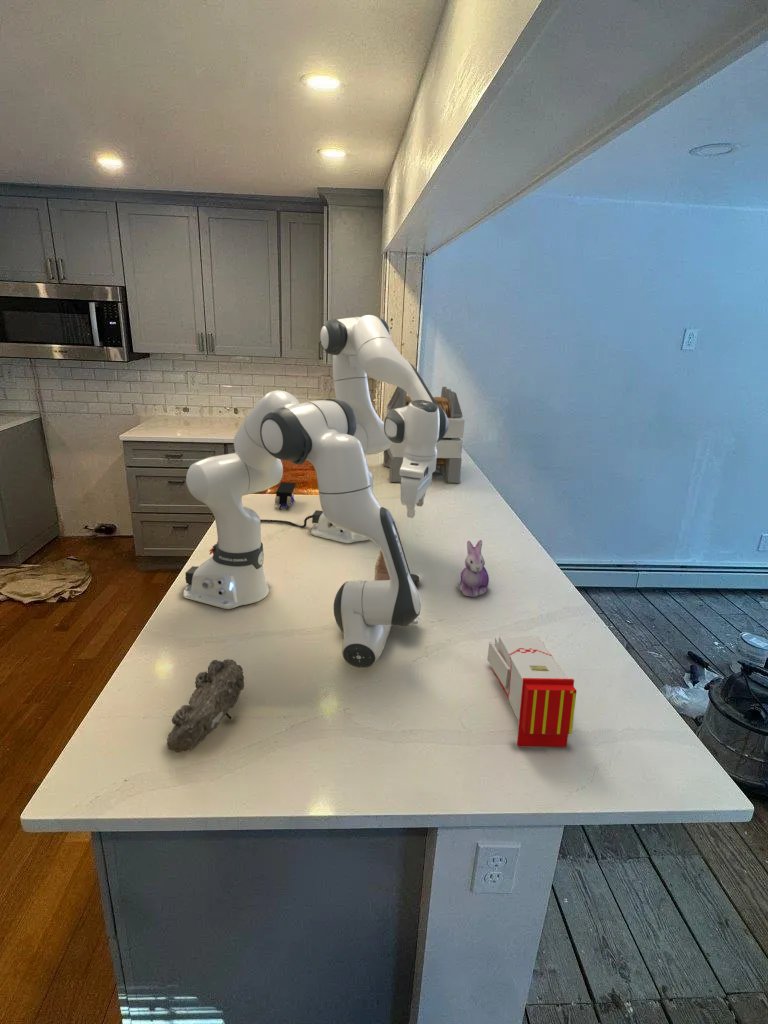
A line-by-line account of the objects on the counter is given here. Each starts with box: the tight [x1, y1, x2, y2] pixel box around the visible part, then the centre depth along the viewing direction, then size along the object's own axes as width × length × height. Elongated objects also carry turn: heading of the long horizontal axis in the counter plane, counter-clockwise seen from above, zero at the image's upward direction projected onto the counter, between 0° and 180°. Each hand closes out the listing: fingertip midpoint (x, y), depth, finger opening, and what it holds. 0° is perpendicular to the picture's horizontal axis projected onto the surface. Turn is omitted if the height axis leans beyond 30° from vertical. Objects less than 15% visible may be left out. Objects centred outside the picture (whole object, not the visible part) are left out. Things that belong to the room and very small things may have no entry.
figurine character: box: [274, 481, 297, 510], centre depth 222 cm, size 7×8×15 cm
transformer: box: [383, 386, 465, 484], centre depth 268 cm, size 34×33×41 cm
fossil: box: [166, 658, 245, 754], centre depth 106 cm, size 22×10×15 cm
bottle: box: [373, 546, 390, 581], centre depth 145 cm, size 5×5×19 cm
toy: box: [486, 635, 577, 748], centre depth 115 cm, size 12×13×30 cm
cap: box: [411, 573, 420, 588], centre depth 163 cm, size 4×4×2 cm
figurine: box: [459, 539, 490, 598], centre depth 159 cm, size 9×10×15 cm
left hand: (384, 592), depth 147 cm, fingers open, 7 cm apart
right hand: (415, 511), depth 156 cm, fingers open, 8 cm apart
